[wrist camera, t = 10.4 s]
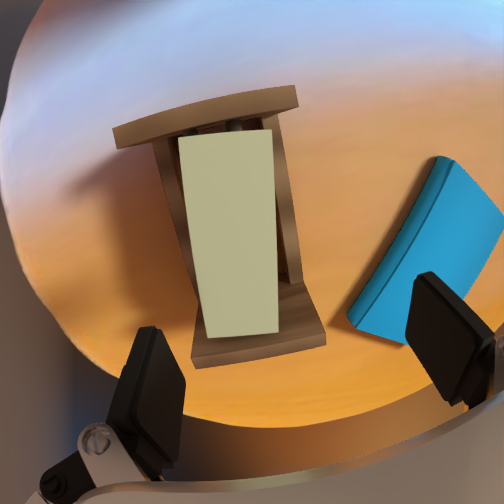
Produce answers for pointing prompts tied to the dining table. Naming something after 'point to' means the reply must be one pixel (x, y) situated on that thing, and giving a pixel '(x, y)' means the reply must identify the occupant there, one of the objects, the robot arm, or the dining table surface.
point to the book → (431, 249)
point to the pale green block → (233, 229)
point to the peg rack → (290, 282)
